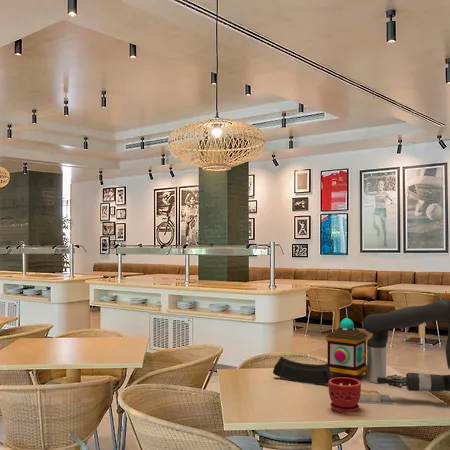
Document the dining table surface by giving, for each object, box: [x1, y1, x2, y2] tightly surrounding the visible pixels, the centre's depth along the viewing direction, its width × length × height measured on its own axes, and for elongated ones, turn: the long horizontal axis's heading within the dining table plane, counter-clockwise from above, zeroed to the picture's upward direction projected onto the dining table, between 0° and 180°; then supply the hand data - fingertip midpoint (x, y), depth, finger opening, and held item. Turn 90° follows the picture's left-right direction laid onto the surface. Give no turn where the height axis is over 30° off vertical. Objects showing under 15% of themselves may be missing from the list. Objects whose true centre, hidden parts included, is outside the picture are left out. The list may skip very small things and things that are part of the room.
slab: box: [359, 389, 382, 402], centre depth 239 cm, size 6×3×18 cm
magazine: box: [272, 356, 333, 385], centre depth 269 cm, size 17×3×30 cm
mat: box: [358, 394, 394, 406], centre depth 240 cm, size 15×22×1 cm
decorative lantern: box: [325, 317, 369, 380], centre depth 282 cm, size 20×20×30 cm
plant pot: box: [328, 376, 362, 414], centre depth 225 cm, size 13×13×12 cm
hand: (377, 380), depth 239 cm, fingers closed
